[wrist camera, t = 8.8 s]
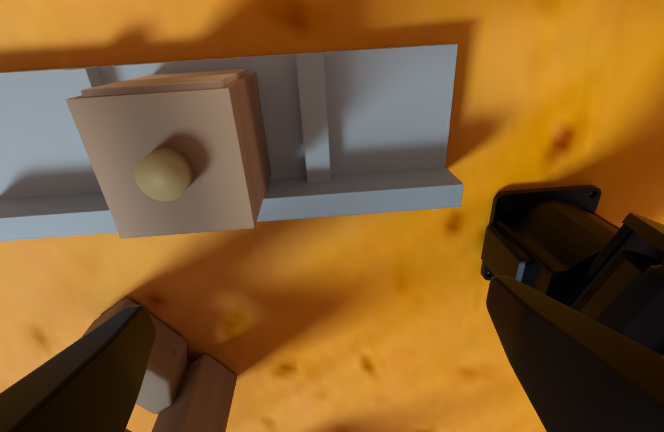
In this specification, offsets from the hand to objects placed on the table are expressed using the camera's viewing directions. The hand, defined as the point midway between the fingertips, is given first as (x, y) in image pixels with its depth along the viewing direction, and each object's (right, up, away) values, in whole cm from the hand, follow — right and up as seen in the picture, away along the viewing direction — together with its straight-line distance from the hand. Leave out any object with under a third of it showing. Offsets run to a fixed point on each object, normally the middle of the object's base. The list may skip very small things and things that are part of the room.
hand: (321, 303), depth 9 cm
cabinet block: (-6, +7, +8) cm, 12 cm away
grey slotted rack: (-6, +7, +10) cm, 13 cm away
